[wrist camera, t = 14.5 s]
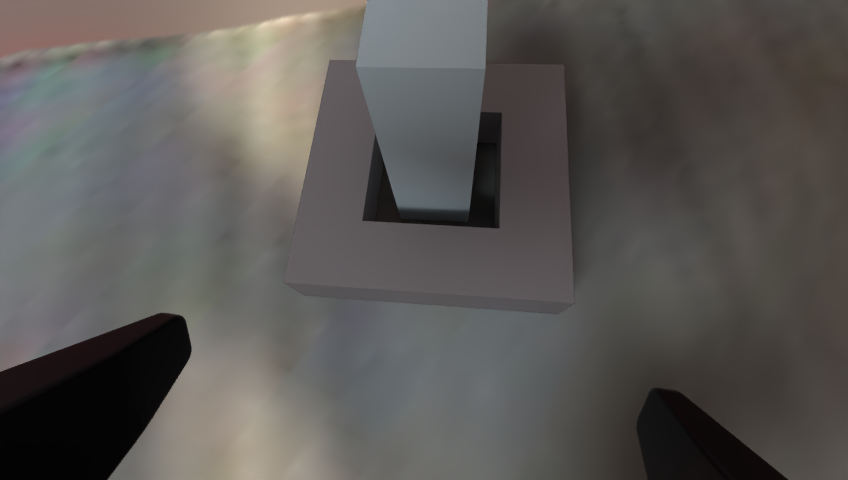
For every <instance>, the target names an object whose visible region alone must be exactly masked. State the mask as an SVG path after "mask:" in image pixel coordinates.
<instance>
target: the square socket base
mask: <svg viewBox="0 0 848 480" xmlns="http://www.w3.org/2000/svg"><path fill="white" fill-rule="evenodd" d="M356 62H357V61H356V60H330V61H329V66H328V71H327V76H326V80H325V85H324V90H323V94H322V99H321V104H320V109H319V113H318V118H317V123H316V127H315V132H314V137H313V142H312V146H311V151H310V156H309V161H308V165H307V170H306V175H305V179H304V184H303V189H302V194H301V198H300V203H299V208H298V212H297V217H296V222H295V227H294V231H293V236H292V241H291V246H290V250H289V255H288V260H287V264H286V269H285V274H284V279H283V283H284V284H286V285H288V286H289V287H291V288H293V289H294V290H296V291H298V292H299V293H301V294H303V295H306V296H320V297H334V298H347V299H361V300H375V301H388V302H402V303H415V304H429V305H443V306H456V307H470V308H484V309H497V310H511V311H524V312H538V313H552V314H559V313H560V312H562V311H563V310H565V309H566V308H568V307H569V306H571V305H573V304H574V303H575V298H574V276H573V253H572V231H571V209H570V187H569V164H568V142H567V120H566V97H565V75H564V65H560V64H509V63H486V66H485V77H484V86H483V95H482V104H481V113H480V121H479V130H478V139H477V143H496V169H495V206H494V228H481V227H463V226H445V225H427V224H409V223H391V222H375V221H376V214H377V207H378V200H379V192H380V185H381V178H382V170H383V163H384V160H383V157H382V154H381V150H380V147H379V144H378V140H377V137H376V134H375V130H374V127H373V123H372V120H371V117H370V113H369V110H368V107H367V103H366V100H365V97H364V93H363V90H362V86H361V83H360V80H359V76H358V73H357V70H356Z"/></svg>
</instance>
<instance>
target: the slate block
mask: <svg viewBox="0 0 848 480" xmlns="http://www.w3.org/2000/svg"><path fill="white" fill-rule="evenodd" d="M487 4H488V0H367V4H366V10H365V16H364V22H363V27H362V33H361V39H360V45H359V50H358V56H357V62H356V70H357V73H358V76H359V80H360V83H361V86H362V90H363V93H364V97H365V100H366V103H367V107H368V110H369V113H370V117H371V120H372V123H373V127H374V130H375V134H376V137H377V140H378V144H379V147H380V150H381V154H382V157H383V160H384V164H385V167H386V171H387V174H388V177H389V181H390V184H391V187H392V191H393V194H394V197H395V201H396V204H397V208H398V211H399V214H400V218H401V219H415V220H435V221H456V222H468V219H469V210H470V202H471V193H472V184H473V175H474V166H475V157H476V148H477V139H478V130H479V121H480V113H481V104H482V95H483V86H484V77H485V66H486V35H487Z"/></svg>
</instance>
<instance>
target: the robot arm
mask: <svg viewBox="0 0 848 480" xmlns="http://www.w3.org/2000/svg"><path fill="white" fill-rule="evenodd" d="M191 349H192V347H191V342H190V338H189V333H188V328H187V324H186V320H185V319H184V318H183V316H181V315H176V314H170V313H159V314H156V315H153V316H150V317H148V318H145V319H142V320H139V321H137V322H134V323H131V324H129V325H126V326H123V327H121V328H118V329H115V330H112V331H110V332H107V333H104V334H102V335H99V336H96V337H93V338H91V339H88V340H85V341H83V342H80V343H77V344H74V345H72V346H69V347H66V348H64V349H61V350H58V351H55V352H53V353H50V354H47V355H45V356H42V357H39V358H36V359H34V360H31V361H28V362H26V363H23V364H20V365H18V366H15V367H12V368H9V369H7V370H4V371H1V372H0V480H108V478H109V477H110V476H111V474H112V473H113V472H114V470H115V469H116V468H117V466H118V465H119V464H120V462H121V461H122V460H123V458H124V457H125V456H126V455H127V453H128V452H129V451H130V449H131V448H132V447H133V445H134V444H135V443H136V441H137V440H138V438H139V437H140V436H141V434H142V433H143V431H144V430H145V429H146V427H147V425H148V424H149V422H150V421H151V419H152V418H153V416H154V415H155V413H156V412H157V410H158V408H159V407H160V405H161V404H162V402H163V400H164V399H165V397H166V396H167V394H168V392H169V391H170V389H171V387H172V386H173V384H174V383H175V381H176V379H177V378H178V376H179V375H180V373H181V371H182V370H183V368H184V367H185V365H186V363H187V362H188V360H189V358H190V355H191ZM637 434H638V439H639V443H640V448H641V452H642V457H643V461H644V466H645V470H646V475H647V479H648V480H788V479H787V478H785V477H784V476H783V475H782V474H781V473H779V472H778V471H777V470H776V469H774V468H773V467H772V466H771V465H769V464H768V463H767V462H766V461H764V460H763V459H762V458H761V457H760V456H758V455H757V454H756V453H755V452H753V451H752V450H751V449H750V448H748V447H747V446H746V445H745V444H743V443H742V442H741V441H740V440H739V439H737V438H736V437H735V436H734V435H732V434H731V433H730V432H729V431H727V430H726V429H725V428H724V427H722V426H721V425H720V424H719V423H718V422H716V421H715V420H714V419H713V418H711V417H710V416H709V415H708V414H706V413H705V412H704V411H703V410H701V409H700V408H699V407H698V406H697V405H695V404H694V403H693V402H692V401H690V400H689V399H688V398H687V397H685V396H684V395H683V394H682V393H680V392H678V391H675V390H670V389H663V388H653V389H652V390H651V391H650V392H649V394H648V396H647V399H646V401H645V403H644V405H643V408H642V410H641V412H640V415H639V417H638V420H637Z"/></svg>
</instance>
